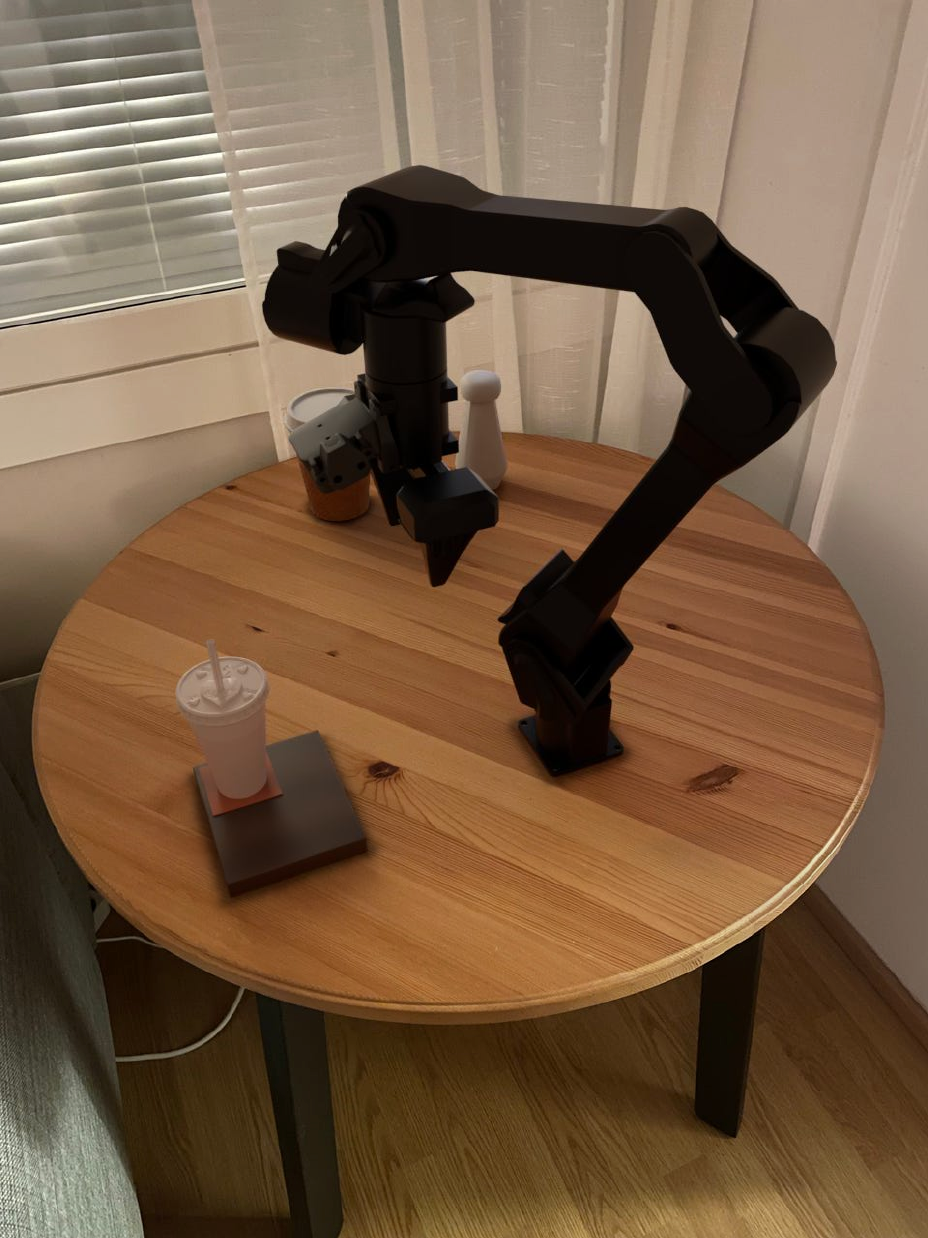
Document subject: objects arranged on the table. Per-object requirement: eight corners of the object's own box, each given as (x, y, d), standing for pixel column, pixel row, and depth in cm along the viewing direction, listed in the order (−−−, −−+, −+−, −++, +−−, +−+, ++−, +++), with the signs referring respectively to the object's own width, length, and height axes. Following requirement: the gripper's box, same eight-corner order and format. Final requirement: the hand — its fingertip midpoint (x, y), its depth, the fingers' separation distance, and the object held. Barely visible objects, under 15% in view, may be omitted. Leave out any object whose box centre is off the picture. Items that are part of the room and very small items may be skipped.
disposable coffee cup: (289, 492, 112) (275, 392, 105) (372, 478, 114) (364, 379, 107) (304, 536, 105) (290, 433, 97) (393, 520, 107) (386, 418, 100)
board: (367, 851, 72) (366, 837, 71) (230, 898, 69) (226, 883, 68) (319, 742, 81) (317, 728, 80) (196, 780, 78) (192, 765, 77)
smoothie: (196, 818, 73) (157, 672, 64) (200, 755, 78) (165, 612, 69) (285, 806, 74) (258, 661, 65) (284, 745, 79) (259, 602, 70)
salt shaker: (509, 471, 115) (510, 364, 107) (505, 497, 110) (507, 387, 102) (458, 469, 115) (455, 362, 107) (452, 495, 111) (450, 386, 103)
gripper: (258, 338, 74) (285, 518, 83) (334, 450, 60) (355, 650, 70) (401, 313, 77) (410, 489, 87) (503, 414, 64) (501, 609, 73)
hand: (415, 553), depth 79 cm, fingers open, 9 cm apart
